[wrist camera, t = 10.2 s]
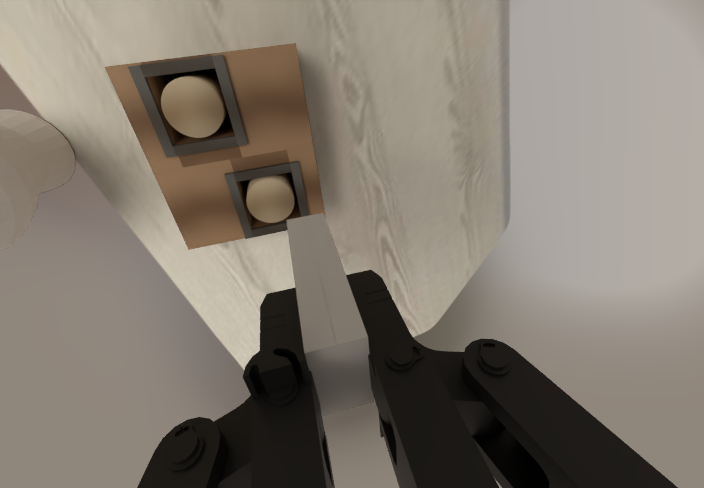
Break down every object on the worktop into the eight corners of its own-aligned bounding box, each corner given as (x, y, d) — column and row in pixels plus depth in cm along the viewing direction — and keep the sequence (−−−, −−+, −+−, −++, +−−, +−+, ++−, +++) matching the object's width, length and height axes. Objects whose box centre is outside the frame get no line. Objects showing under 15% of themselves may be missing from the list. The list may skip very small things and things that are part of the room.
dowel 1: (175, 75, 30) (150, 81, 24) (223, 69, 31) (212, 73, 24) (192, 124, 33) (174, 142, 26) (237, 117, 33) (230, 133, 27)
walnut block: (140, 64, 30) (101, 67, 23) (288, 45, 32) (296, 43, 25) (201, 215, 38) (187, 252, 31) (315, 193, 40) (326, 223, 33)
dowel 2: (244, 160, 36) (240, 184, 29) (284, 153, 36) (289, 175, 30) (255, 196, 38) (253, 226, 31) (292, 189, 39) (298, 217, 32)
